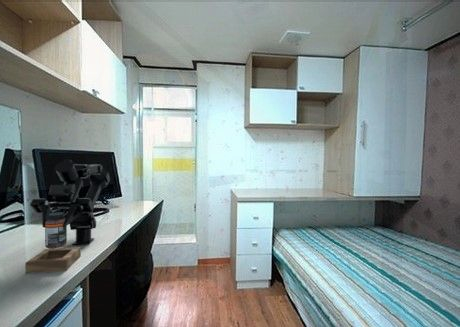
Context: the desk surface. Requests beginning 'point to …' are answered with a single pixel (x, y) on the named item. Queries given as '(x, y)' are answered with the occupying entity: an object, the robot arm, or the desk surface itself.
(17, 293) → the desk surface
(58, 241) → the supplement bottle
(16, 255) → the desk surface
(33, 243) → the desk surface
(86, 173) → the robot arm
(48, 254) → the walnut pocket block
